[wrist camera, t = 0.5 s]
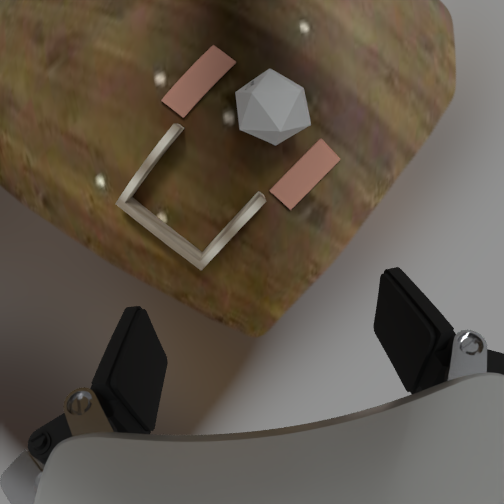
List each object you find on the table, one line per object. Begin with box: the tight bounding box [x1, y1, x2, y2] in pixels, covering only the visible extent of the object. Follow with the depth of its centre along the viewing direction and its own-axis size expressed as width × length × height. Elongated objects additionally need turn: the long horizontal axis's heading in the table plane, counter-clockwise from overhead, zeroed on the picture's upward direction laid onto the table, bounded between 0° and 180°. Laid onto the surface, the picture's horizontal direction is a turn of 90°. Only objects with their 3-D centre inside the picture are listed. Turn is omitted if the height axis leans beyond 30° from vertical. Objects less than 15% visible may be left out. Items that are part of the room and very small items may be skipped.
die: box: [235, 69, 311, 146], centre depth 29 cm, size 8×9×10 cm
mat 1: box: [161, 45, 236, 118], centre depth 30 cm, size 10×4×1 cm, turn 137°
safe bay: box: [116, 124, 266, 271], centre depth 35 cm, size 13×15×3 cm
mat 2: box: [269, 138, 341, 210], centre depth 36 cm, size 10×4×1 cm, turn 138°
